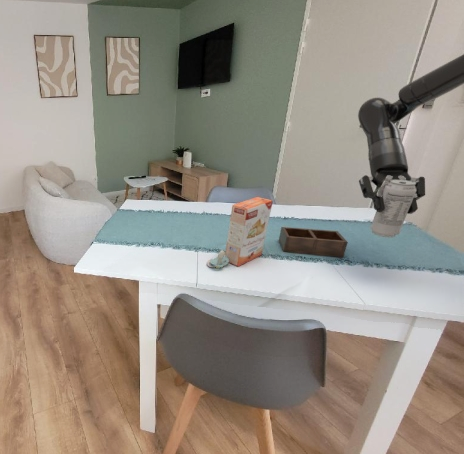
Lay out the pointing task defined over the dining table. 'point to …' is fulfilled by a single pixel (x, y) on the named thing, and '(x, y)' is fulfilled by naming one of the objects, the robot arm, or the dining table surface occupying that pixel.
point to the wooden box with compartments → (312, 242)
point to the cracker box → (247, 230)
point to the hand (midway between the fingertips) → (396, 211)
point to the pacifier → (218, 260)
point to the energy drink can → (394, 208)
